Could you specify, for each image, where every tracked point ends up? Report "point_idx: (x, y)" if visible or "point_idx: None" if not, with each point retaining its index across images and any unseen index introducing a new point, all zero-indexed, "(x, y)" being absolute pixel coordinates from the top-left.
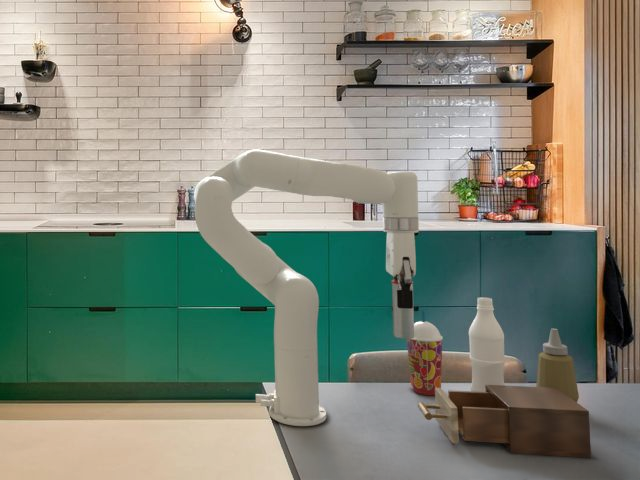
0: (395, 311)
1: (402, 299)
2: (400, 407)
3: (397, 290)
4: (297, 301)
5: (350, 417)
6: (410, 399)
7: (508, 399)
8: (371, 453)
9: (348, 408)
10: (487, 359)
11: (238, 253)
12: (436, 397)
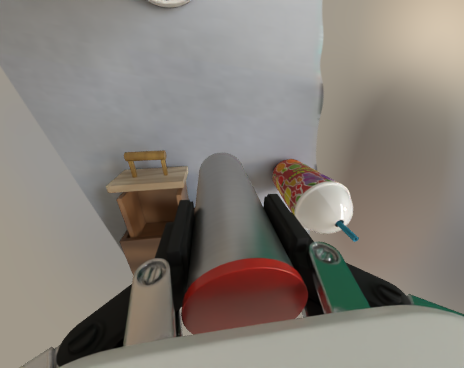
0: (209, 184)
1: (163, 236)
2: (231, 134)
3: (166, 251)
4: None
5: (180, 55)
6: (259, 150)
7: (146, 245)
8: (62, 68)
9: (215, 57)
10: None
11: None
12: (176, 177)
